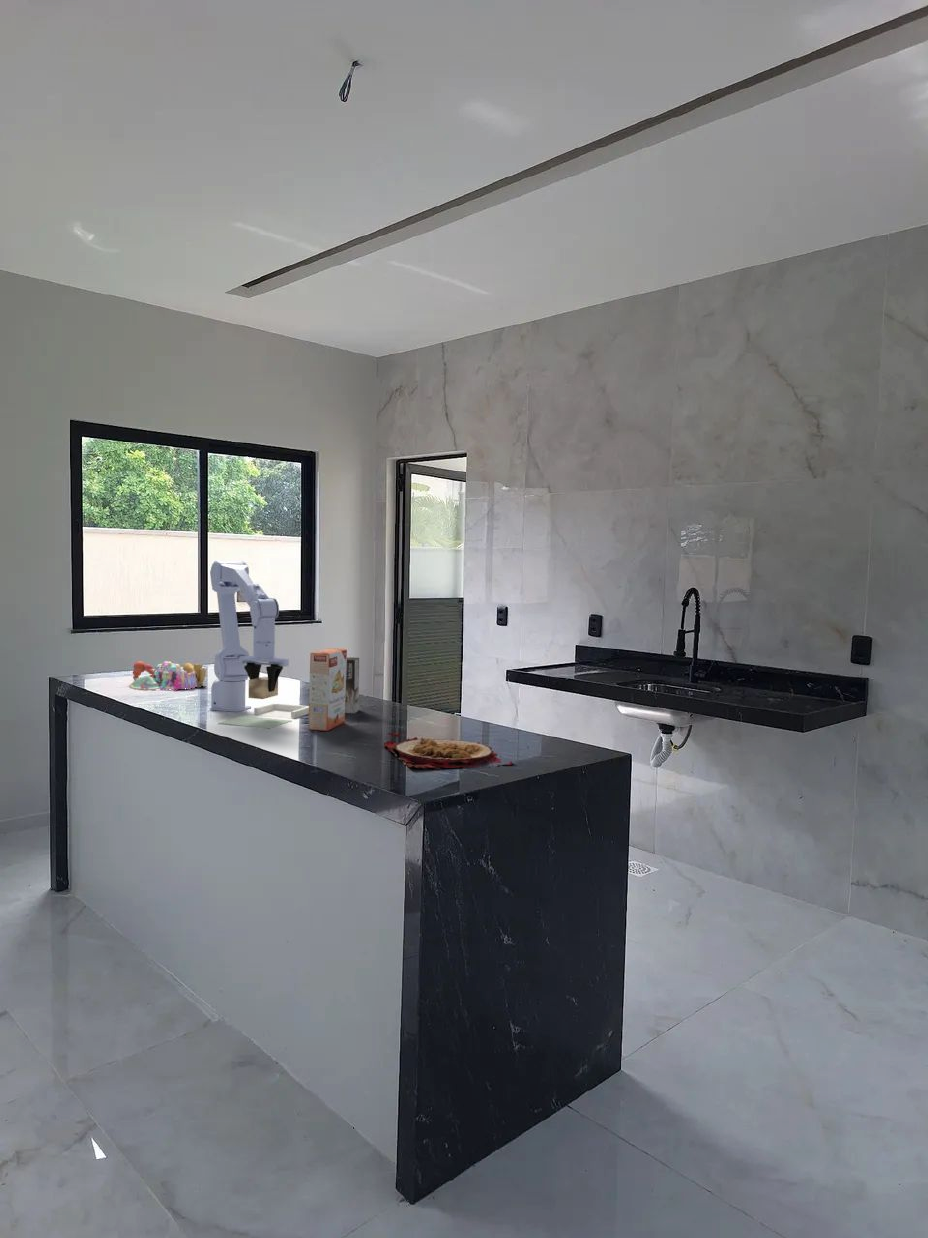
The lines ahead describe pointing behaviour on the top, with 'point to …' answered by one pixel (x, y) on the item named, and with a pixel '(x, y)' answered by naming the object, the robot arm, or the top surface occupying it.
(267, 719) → the stand mat
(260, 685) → the oak block
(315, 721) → the cracker box
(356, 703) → the coffee box
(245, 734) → the top surface
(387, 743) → the plate with food
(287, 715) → the shelf slot
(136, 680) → the candy landscape model
